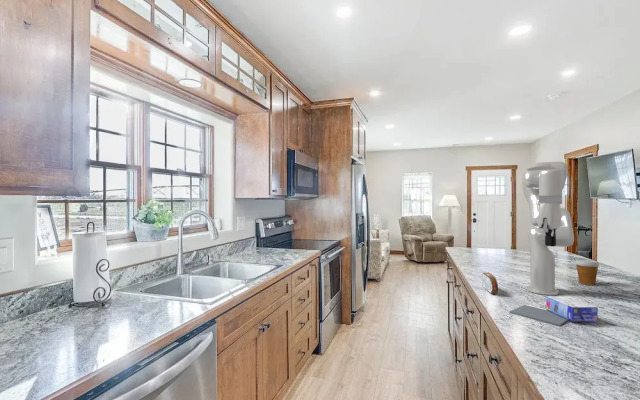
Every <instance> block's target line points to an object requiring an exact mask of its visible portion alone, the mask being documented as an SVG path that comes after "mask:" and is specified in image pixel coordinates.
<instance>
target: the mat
mask: <svg viewBox="0 0 640 400" xmlns="http://www.w3.org/2000/svg"><path fill="white" fill-rule="evenodd" d="M509 313H510V314H513V315H515V316H521V317H523V318H528V319H532V320H535V321H539V322H543V323H547V324H549V325H554V326H557V327H561V326H562V325H564V324H566V323H567V322H570V320H568V319H566V318H564V317H562V316H560V315H557V314H555V313H553V312H551V311H548V310H546V308H543V307H539V306H534V305H530V304H523V305H521V306H519V307H517V308H514V309H512V310H510V311H509Z"/></svg>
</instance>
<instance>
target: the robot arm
mask: <svg viewBox="0 0 640 400" xmlns="http://www.w3.org/2000/svg"><path fill="white" fill-rule="evenodd" d="M568 171H569V170H568V166H567V164H566V163H565V162H564V161H560V160H559V161H544V162H542V161H541V162H537V163H535V164H533V165H532V166H530V167H529V168H526V169H524V170H523V173H522V184H521V186H522V192H523V195H524V197H525V199H526V200H527V204H528V209H529V219H530V223H531V225H532V226H531V227H529V228H528V231H527V236H528V237H527V238H528V243H529V256H530V257H529V259H530V260H529V264H530V265H529V266H530V270H529V271H530V272H529V273H530V276H529V277H530V280H529V281H530V285H528V286H526V290H527V292H529V293H530V292H531V293H534V294H537V295H544V296H545V295H546V296H557V295H559V294H560V291H559V289H556V286H555V285H556V277H555V276H556V275H555V274H556V272H555V269H556V268H555V266H556V265H555V263H556V261H555V260H556V259H555V255H554V252H553V251H551V250H550V248H548V247H563V248H564V247H565V248H567V247H571V246H573V244H574V242H575V236H574V235H575V234H574V228H573V222H572V217H571V214H570V211H569V210H568V209H567V208H563V207H561V205H563V189H565V185H566V182H567V177H568V173H569V172H568Z"/></svg>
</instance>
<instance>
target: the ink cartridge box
mask: <svg viewBox="0 0 640 400" xmlns="http://www.w3.org/2000/svg"><path fill="white" fill-rule="evenodd" d="M545 299H546V301H545V302H546V303H545V309H546V310H548V311H551V312H553V313H555V314H557V315H560V316H562V317H564V318H566V319H568V320H569V322H598V318H599V317H598V316H599V312H598V311H599V310H598V309H599V308H598V306H595V305H592V304H590V303H589V302H588V303H587V302H586V301H582V300H579V299H577V298H574V297H572V296H546V298H545Z"/></svg>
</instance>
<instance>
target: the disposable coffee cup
mask: <svg viewBox="0 0 640 400" xmlns="http://www.w3.org/2000/svg"><path fill="white" fill-rule="evenodd" d="M574 263H575V264H576V270H577V277H578V282H579V284H580V283H581V284H582V285H584V284H585V285H584V286H596V283H597V276H598V268H599V266H600V264H599V262H598V261H596V260H592V259H575V262H574Z"/></svg>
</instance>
